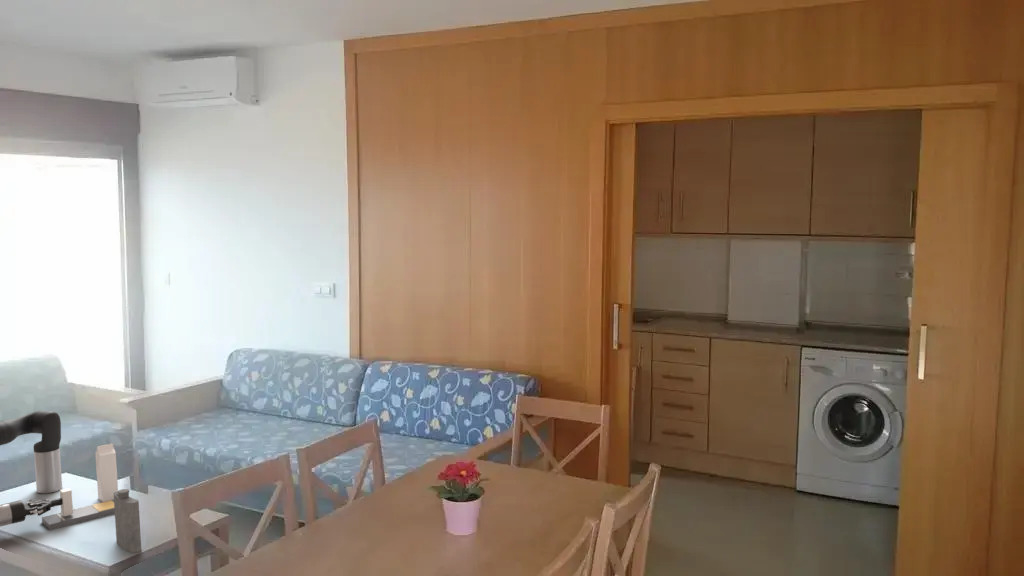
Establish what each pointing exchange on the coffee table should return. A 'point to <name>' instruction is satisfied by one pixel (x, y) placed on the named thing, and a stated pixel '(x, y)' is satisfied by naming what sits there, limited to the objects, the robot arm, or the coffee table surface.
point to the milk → (106, 472)
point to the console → (79, 515)
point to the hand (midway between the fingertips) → (61, 501)
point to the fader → (66, 502)
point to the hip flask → (127, 521)
